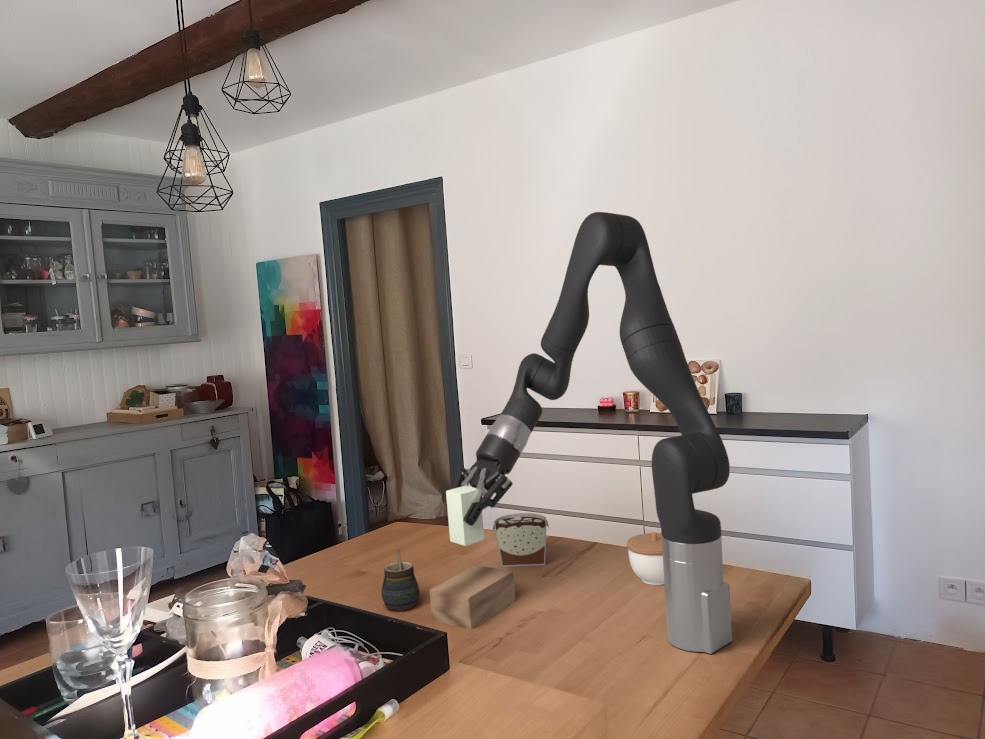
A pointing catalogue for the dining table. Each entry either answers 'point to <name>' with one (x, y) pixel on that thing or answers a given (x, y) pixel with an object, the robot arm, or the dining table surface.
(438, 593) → the walnut block
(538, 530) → the food container
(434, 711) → the dining table surface
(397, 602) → the mate gourd
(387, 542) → the dining table surface
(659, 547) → the lidded jar
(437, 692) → the dining table surface
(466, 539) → the sage block
